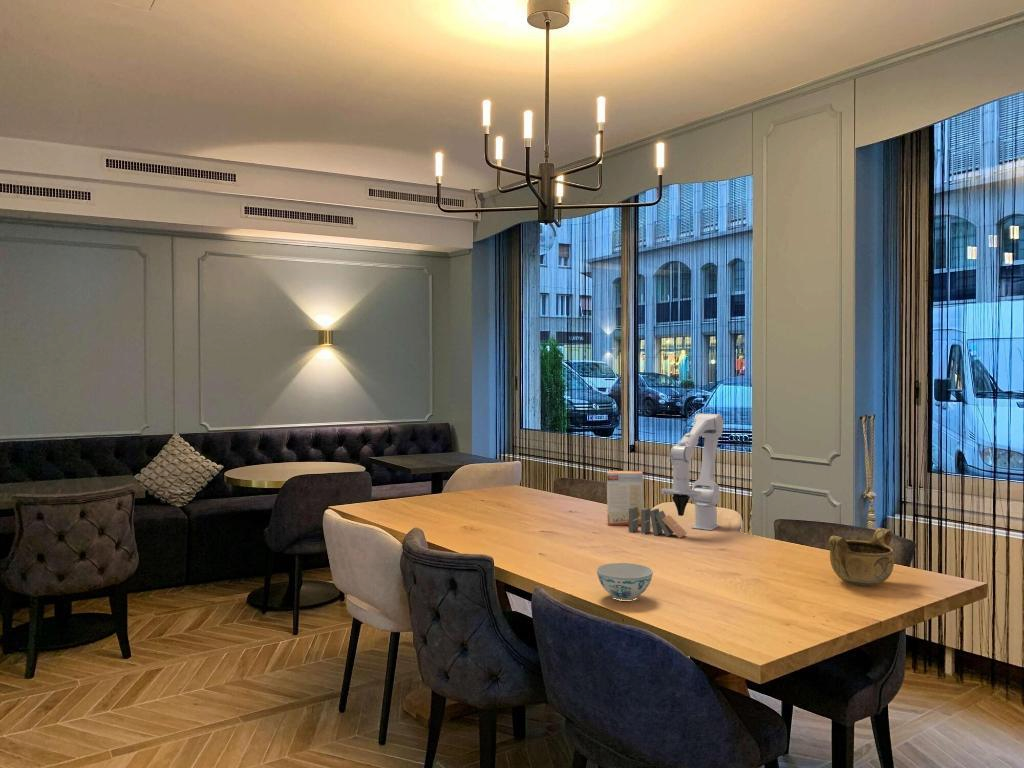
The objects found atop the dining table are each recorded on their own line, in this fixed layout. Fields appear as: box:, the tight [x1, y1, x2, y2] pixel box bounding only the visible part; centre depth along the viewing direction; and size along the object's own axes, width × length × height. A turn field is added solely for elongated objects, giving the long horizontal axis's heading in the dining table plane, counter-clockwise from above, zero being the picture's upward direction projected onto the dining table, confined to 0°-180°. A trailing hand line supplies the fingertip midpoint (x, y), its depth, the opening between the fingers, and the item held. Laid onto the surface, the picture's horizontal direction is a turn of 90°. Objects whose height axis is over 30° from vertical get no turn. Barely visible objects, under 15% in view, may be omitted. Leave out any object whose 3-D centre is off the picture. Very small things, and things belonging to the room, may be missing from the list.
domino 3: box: [655, 510, 675, 537], centre depth 285 cm, size 5×2×9 cm
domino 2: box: [650, 508, 664, 536], centre depth 287 cm, size 5×2×9 cm, turn 147°
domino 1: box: [640, 507, 651, 534], centre depth 289 cm, size 5×2×9 cm, turn 147°
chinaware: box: [596, 562, 654, 600], centre depth 208 cm, size 15×15×8 cm
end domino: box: [628, 506, 639, 533], centre depth 292 cm, size 5×2×9 cm, turn 147°
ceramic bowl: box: [828, 527, 895, 588], centre depth 220 cm, size 22×17×15 cm
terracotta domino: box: [662, 514, 688, 539], centre depth 283 cm, size 5×2×9 cm
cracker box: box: [606, 470, 644, 526], centre depth 304 cm, size 14×6×21 cm, turn 84°
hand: (681, 515), depth 282 cm, fingers closed
